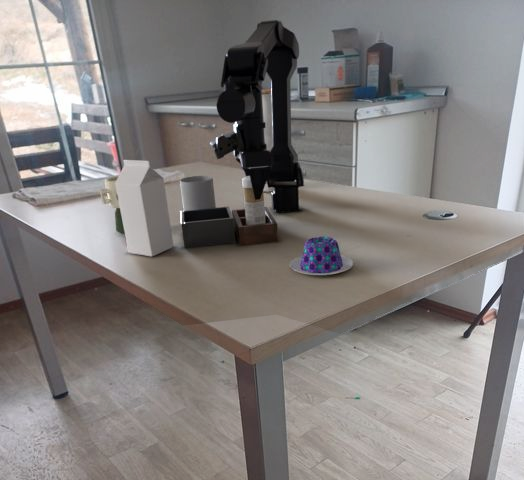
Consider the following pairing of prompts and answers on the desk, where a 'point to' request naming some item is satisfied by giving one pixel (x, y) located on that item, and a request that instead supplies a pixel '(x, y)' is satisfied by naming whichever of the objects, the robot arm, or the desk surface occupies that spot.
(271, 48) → the robot arm
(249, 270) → the desk surface
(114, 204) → the character mug
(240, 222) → the rack
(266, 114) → the fruit juice
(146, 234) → the milk carton
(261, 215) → the sprinkles bottle
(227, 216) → the dark grey open box
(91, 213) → the desk surface
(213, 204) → the cup
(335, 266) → the purple bucket hat
